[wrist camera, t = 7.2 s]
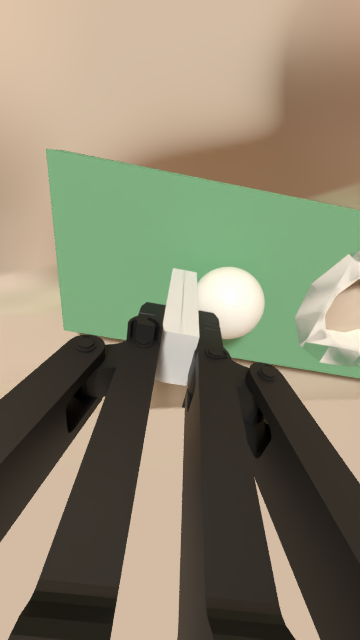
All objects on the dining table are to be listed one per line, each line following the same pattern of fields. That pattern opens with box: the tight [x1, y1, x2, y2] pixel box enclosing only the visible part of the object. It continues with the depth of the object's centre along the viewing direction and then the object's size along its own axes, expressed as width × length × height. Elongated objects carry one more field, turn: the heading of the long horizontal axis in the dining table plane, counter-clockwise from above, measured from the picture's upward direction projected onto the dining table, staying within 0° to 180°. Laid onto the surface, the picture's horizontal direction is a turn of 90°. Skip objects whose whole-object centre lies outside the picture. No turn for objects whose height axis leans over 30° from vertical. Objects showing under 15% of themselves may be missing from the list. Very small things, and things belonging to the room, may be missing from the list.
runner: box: [46, 149, 360, 378], centre depth 18 cm, size 12×28×2 cm, turn 80°
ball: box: [197, 267, 265, 339], centre depth 15 cm, size 4×4×4 cm
